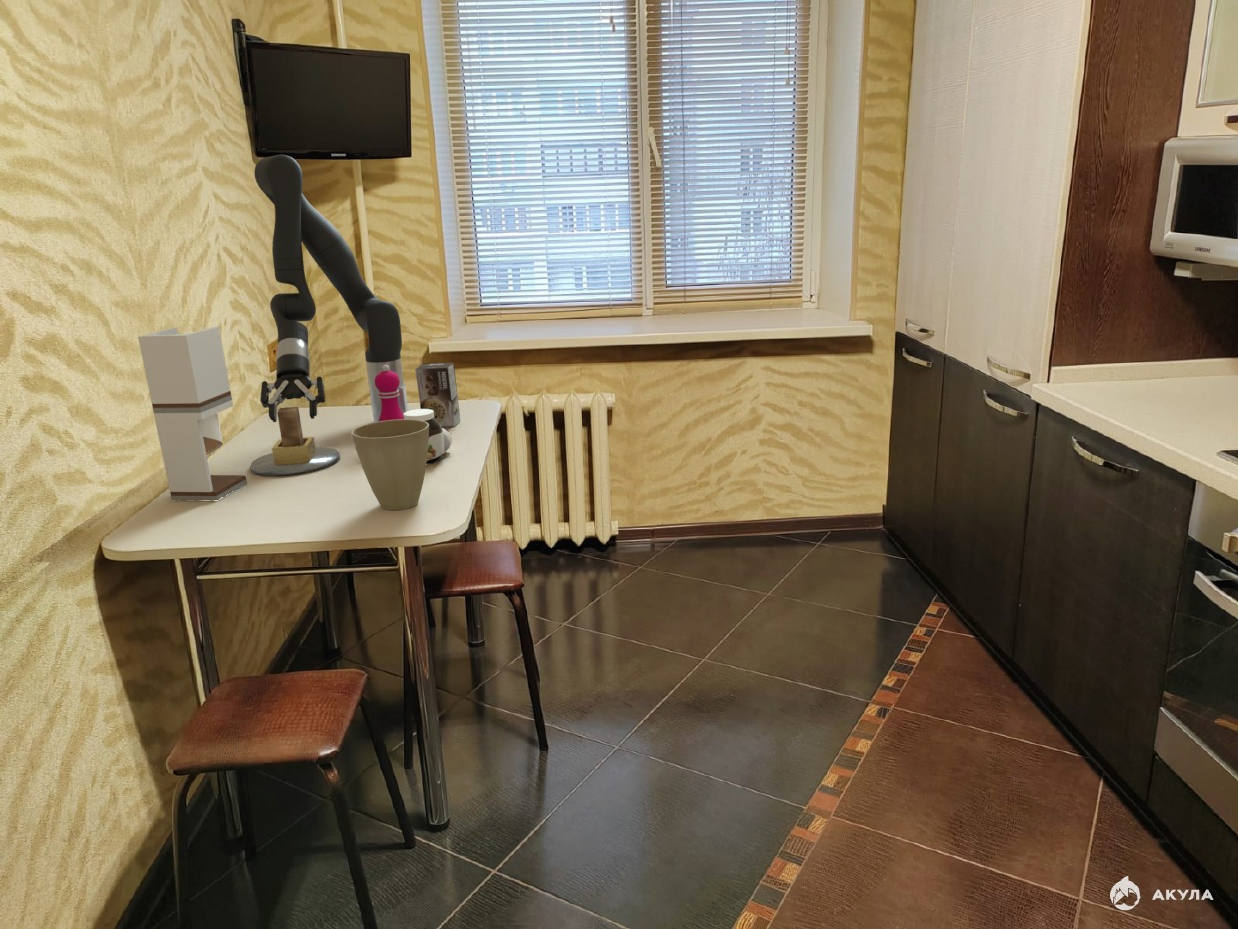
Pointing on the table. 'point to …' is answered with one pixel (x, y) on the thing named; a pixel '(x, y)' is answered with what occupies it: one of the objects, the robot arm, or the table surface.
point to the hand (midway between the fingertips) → (293, 418)
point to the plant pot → (394, 460)
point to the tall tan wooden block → (290, 426)
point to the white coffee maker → (189, 408)
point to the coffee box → (439, 392)
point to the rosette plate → (295, 459)
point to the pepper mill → (388, 394)
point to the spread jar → (432, 433)
